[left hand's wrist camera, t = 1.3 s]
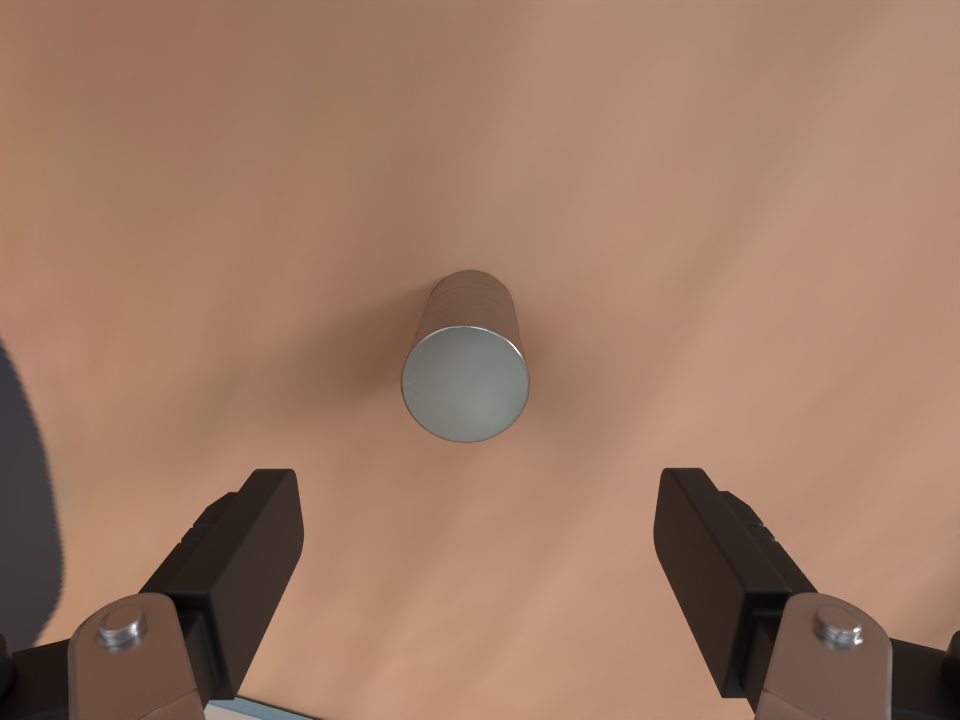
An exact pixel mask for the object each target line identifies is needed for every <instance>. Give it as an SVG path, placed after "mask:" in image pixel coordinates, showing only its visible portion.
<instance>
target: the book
mask: <svg viewBox="0 0 960 720" xmlns="http://www.w3.org/2000/svg"><path fill="white" fill-rule="evenodd" d="M204 714H205V718H206V720H313V719H309V718H306V717H302V716H299V715H295V714H292V713H289V712H285V711H282V710H278V709H275V708H271V707H268V706H264V705H261V704H257V703H254V702H251V701H247V700H244V699H240V698H237V697H235V699H234V700H209V702H208V704H207V706H206V708H205V710H204Z"/></svg>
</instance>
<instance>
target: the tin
mask: <svg viewBox="0 0 960 720" xmlns="http://www.w3.org/2000/svg"><path fill="white" fill-rule="evenodd" d="M529 387H530V381H529V373H528V368H527V364H526V359H525V355H524V350H523V346H522V341H521V336H520V332H519V327H518V323H517V318H516V314H515V309H514V305H513V300H512V298H511V295H510V294H509V292H508V290H507V289H506V287H505V286H504V285H503V284H502V283H501V282H500V281H499V280H497V279H496V278H495V277H493V276H491V275H489V274H487V273H484V272H480V271H471V270H468V271H461V272H457V273H454V274H452V275H450V276H448V277H446V278H445V279H444V280H442V281H441V282H440V283H439V284H438V285H437V286H436V288H435V289H434V290H433V292H432V294H431V296H430V299H429V301H428V304H427V306H426V309H425V312H424V314H423V317H422V319H421V322H420V325H419V327H418V330H417V332H416V335H415V337H414V340H413V343H412V345H411V348H410V350H409V353H408V356H407V358H406V361H405V363H404V366H403V370H402V375H401V390H402V396H403V399H404V402H405V405H406V407H407V409H408V411H409V412H410V414H411V415H412V417H413V418H414V419H415V420H416V421H417V422H418V424H420V425H421V426H422V427H423V428H424V429H425V430H427V431H428V432H430V433H432V434H433V435H435V436H437V437H440V438H442V439H445V440H449V441H453V442H460V443H471V442H479V441H483V440H487V439H490V438H492V437H494V436H496V435H498V434H500V433H502V432H503V431H505V430H506V429H507V428H509V427H510V426H511V425H512V424H513V423H514V422H515V421H516V420H517V419H518V417H519V416H520V414H521V413H522V411H523V409H524V407H525V405H526V402H527V399H528V395H529Z"/></svg>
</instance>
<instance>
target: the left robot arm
mask: <svg viewBox="0 0 960 720" xmlns="http://www.w3.org/2000/svg"><path fill="white" fill-rule="evenodd" d="M653 533H654V545H655V550H656V553H657V556H658V559H659V561H660V563H661V565H662V568H663V570H664V572H665V574H666V576H667V579H668V581H669V583H670V585H671V587H672V589H673V592H674V594H675V596H676V598H677V600H678V603H679V605H680V607H681V609H682V611H683V614H684V616H685V618H686V620H687V622H688V625H689V627H690V629H691V631H692V633H693V635H694V638H695V640H696V642H697V644H698V646H699V649H700V651H701V653H702V655H703V657H704V660H705V662H706V664H707V666H708V668H709V671H710V673H711V675H712V677H713V679H714V682H715V684H716V686H717V688H718V690H719V692H720V695H721V697H722V698H747V700H748V702H749V704H750V706H751V708H752V710H753V712H754V714H755V718H754V720H960V630H959V631H957V632H956V633H955V634H954V635H953V637H952V639H951V642H950V644H949V647H948V649H947V651H942V650H938V649H934V648H930V647H926V646H921V645H917V644H913V643H909V642H905V641H901V640H897V639H892V638H889V637H888V635H887V634H886V632H885V631H884V630H883V628H882V627H881V626H880V625H879V624H878V623H877V622H876V621H875V620H874V619H873V618H872V617H870V616H869V615H868V614H867V613H865V612H864V611H862V610H861V609H859V608H857V607H856V606H854V605H852V604H850V603H848V602H846V601H844V600H841V599H839V598H836V597H833V596H830V595H825V594H820V593H818V591H817V590H816V589H815V588H814V586H813V585H812V584H811V583H810V581H809V580H808V579H807V578H806V576H805V575H804V574H803V573H802V571H801V570H800V569H799V567H798V566H797V565H796V564H795V562H794V561H793V560H792V559H791V557H790V556H789V555H788V554H787V552H786V551H785V550H784V549H783V547H782V546H781V545H780V544H779V542H775V537H774V536H773V535H772V534H771V532H770V531H769V530H768V529H767V527H764V526H763V522H762V521H761V520H760V519H759V517H758V516H757V515H756V514H755V512H754V511H753V510H752V509H751V507H750V506H749V505H747V504H746V503H744V502H743V501H741V500H740V499H739V498H737V497H736V496H734V495H733V494H731V493H730V492H728V491H718V489H717V488H716V487H715V485H714V484H713V483H712V481H711V480H710V478H709V477H708V476H707V474H706V473H705V472H704V471H703V470H702V469H701V468H665V469H664V470H663V471H662V474H661V478H660V485H659V492H658V499H657V506H656V514H655V521H654V531H653ZM303 541H304V527H303V519H302V512H301V505H300V498H299V491H298V484H297V478H296V474H295V472H294V470H293V469H256V470H254V471H253V473H252V474H251V475H250V477H249V478H248V479H247V481H246V482H245V483H244V485H243V486H242V487H241V489H240V490H239V491H238V492H229V493H227V494H226V495H224V496H223V497H221V498H220V499H218V500H217V501H215V502H214V503H212V504H211V505H210V506H208V507H207V508H206V509H205V510H204V512H203V513H202V514H201V515H200V517H199V518H198V519H197V520H196V522H195V523H194V524H193V528H190V529H189V530H188V532H187V533H186V534H185V535H184V537H183V538H182V539H181V543H178V544H177V545H176V546H175V548H174V549H173V550H172V551H171V553H170V554H169V555H168V556H167V558H166V559H165V560H164V561H163V563H162V564H161V565H160V566H159V568H158V569H157V570H156V571H155V573H154V574H153V575H152V576H151V578H150V579H149V580H148V581H147V583H146V584H145V585H144V586H143V588H142V589H141V590H140V591H139V593H138V594H134V595H130V596H127V597H124V598H121V599H119V600H116V601H114V602H112V603H110V604H108V605H106V606H104V607H103V608H101V609H99V610H98V611H96V612H95V613H93V614H92V615H91V616H90V617H88V618H87V619H86V620H85V621H84V622H83V623H82V624H81V625H80V626H79V627H78V628H77V630H76V631H75V632H74V634H73V635H72V637H71V638H70V639H66V640H63V641H59V642H55V643H51V644H46V645H42V646H38V647H34V648H30V649H26V650H22V651H18V652H14V653H11V651H10V649H9V646H8V644H7V641H6V639H5V637H4V636H3V635H2V634H0V720H206V718H205V714H204V710H205V708H206V706H207V704H208V702H209V700H234V699H235V697H236V695H237V693H238V690H239V688H240V686H241V684H242V682H243V680H244V677H245V675H246V673H247V671H248V669H249V667H250V664H251V662H252V660H253V658H254V656H255V654H256V651H257V649H258V647H259V645H260V643H261V641H262V638H263V636H264V634H265V632H266V630H267V628H268V625H269V623H270V621H271V619H272V617H273V615H274V613H275V610H276V608H277V606H278V604H279V602H280V600H281V597H282V595H283V593H284V591H285V589H286V587H287V584H288V582H289V580H290V578H291V576H292V574H293V571H294V569H295V567H296V565H297V563H298V561H299V558H300V555H301V552H302V548H303Z"/></svg>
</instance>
